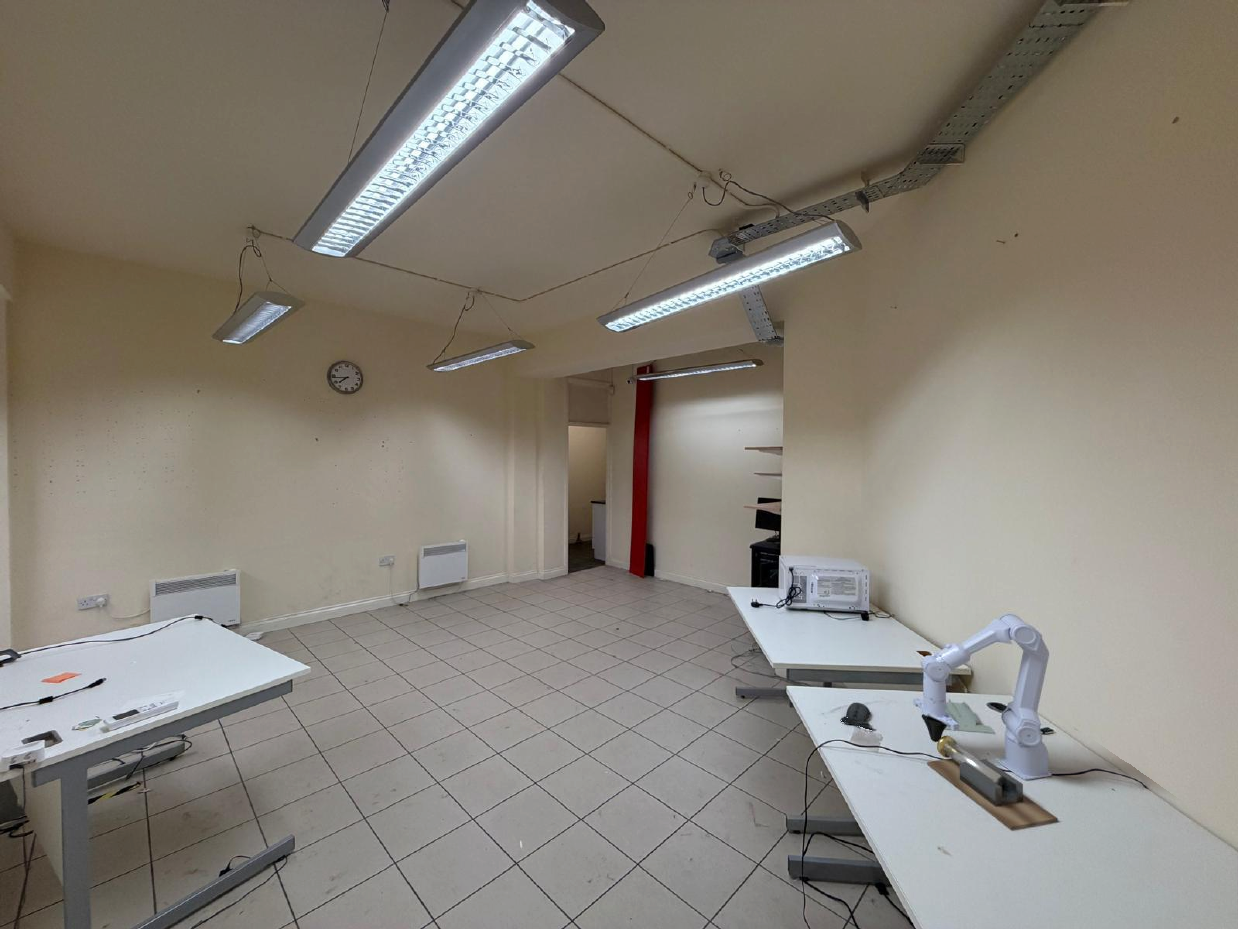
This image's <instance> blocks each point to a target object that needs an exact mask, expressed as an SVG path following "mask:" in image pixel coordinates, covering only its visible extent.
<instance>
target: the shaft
mask: <svg viewBox="0 0 1238 929" xmlns="http://www.w3.org/2000/svg"><path fill="white" fill-rule="evenodd" d="M936 743H937V745H936V749H937V750H936V751H937V752H938V754H939V755H941V756H942V757H944V758H945V759H950V758H952V759H953V760H955V761H956V762H958V763H962V762H966V763H968V764H969V765H971V766H972V767H973V768H975V769H976V770H978V771H979V772H980V773H982V774H983V775H985V776H986V777H988V778H989V779H990V780H992V781H993V782H995V783H996V784H997V785H999V786H1000V787H1002V786H1003V783H1004V779H1003V777H1002V776H1001V775H1000V774H998V773H997V772H995V771H994V770H993V769H991V768H990V767H988V766H987V765H985V764H984V763H982V762H981V761H979V760H980V759H979V758H976V757H975V756H974V755H972V754H971V753H969V752H967V751H966V750H964V749H963V748H962V747H960V746H959V745H958V744H957V740H955V739H954V738H953V737H951V736H950V735H942V736H941V738H940V739H939V741H938V742H936Z"/></svg>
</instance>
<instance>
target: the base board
mask: <svg viewBox="0 0 1238 929" xmlns="http://www.w3.org/2000/svg"><path fill="white" fill-rule="evenodd" d="M926 765H927V766H928V767H929V768H931V770H933V771H935V773H936V774H938V775H940V776H941V777H942V778H943V779H945V780H947V781H948V782H949V783H950V784H952V785H953V786H954V787H955V788H956V789H958V790H959V791H961V793H962V794H964V795H965V796H967V797H968V798H969V799H971V800H972V801H973V802H975V804H977V805H978V806H979V807H981V809H984V810H985V811H986V812H987V813H988V814H990V815H991V816H992V817H994V818H995V819H996V820H998V821H999V822H1000V823H1001V824H1002V825H1004V826H1005V827H1006V828H1008V829H1009V830H1010V831H1014V830H1019V829H1026V828H1030V827H1034V826H1040V825H1047V824H1052V823H1056V822H1057V823H1058V821H1059V819H1058V817H1056V815H1054V814H1052V813H1051V812H1050V811H1048V810H1046V809H1045V808H1044V807H1042V806H1040V805H1039V804H1037V803H1036V802H1035V801H1034V800H1032V799H1031V798H1029V797H1027V796H1026V795H1025V794H1023V802H1019V803H1013V804H1008V805H1002V806H996V807H995V806H994V805H993V804H991V803H990V802H989V801H987V800H986V799H985V798H983V797H982V796H981V795H980V794H978V793H977V792H976V791H974V790H973V789H972V788H970V787H969V786H968V785H966V784H965V783H964V782H962V781H961V780H960V766H959V763H958V762H956V761H955V760H953V759H952V758H951V757H950V758H943V759H939V760H937V759H936V760H931V761H927V762H926Z"/></svg>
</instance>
